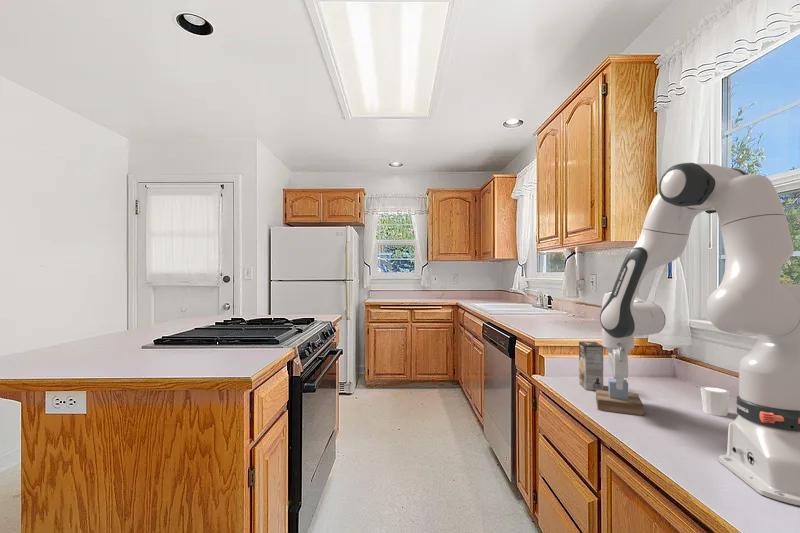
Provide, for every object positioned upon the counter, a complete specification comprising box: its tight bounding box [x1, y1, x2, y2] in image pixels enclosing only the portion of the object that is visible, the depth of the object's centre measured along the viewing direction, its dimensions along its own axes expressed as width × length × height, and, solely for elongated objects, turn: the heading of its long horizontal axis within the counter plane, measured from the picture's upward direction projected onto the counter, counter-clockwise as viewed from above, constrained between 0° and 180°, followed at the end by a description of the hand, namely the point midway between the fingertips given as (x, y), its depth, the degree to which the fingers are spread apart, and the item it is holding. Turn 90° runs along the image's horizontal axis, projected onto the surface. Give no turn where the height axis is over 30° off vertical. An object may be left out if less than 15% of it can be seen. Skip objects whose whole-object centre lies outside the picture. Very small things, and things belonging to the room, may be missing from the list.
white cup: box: [700, 386, 731, 417], centre depth 118 cm, size 7×7×7 cm
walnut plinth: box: [595, 389, 645, 416], centre depth 123 cm, size 12×12×3 cm
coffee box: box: [578, 341, 604, 391], centre depth 145 cm, size 9×6×16 cm
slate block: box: [607, 377, 629, 400], centre depth 123 cm, size 5×5×5 cm
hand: (618, 386), depth 123 cm, fingers open, 6 cm apart
